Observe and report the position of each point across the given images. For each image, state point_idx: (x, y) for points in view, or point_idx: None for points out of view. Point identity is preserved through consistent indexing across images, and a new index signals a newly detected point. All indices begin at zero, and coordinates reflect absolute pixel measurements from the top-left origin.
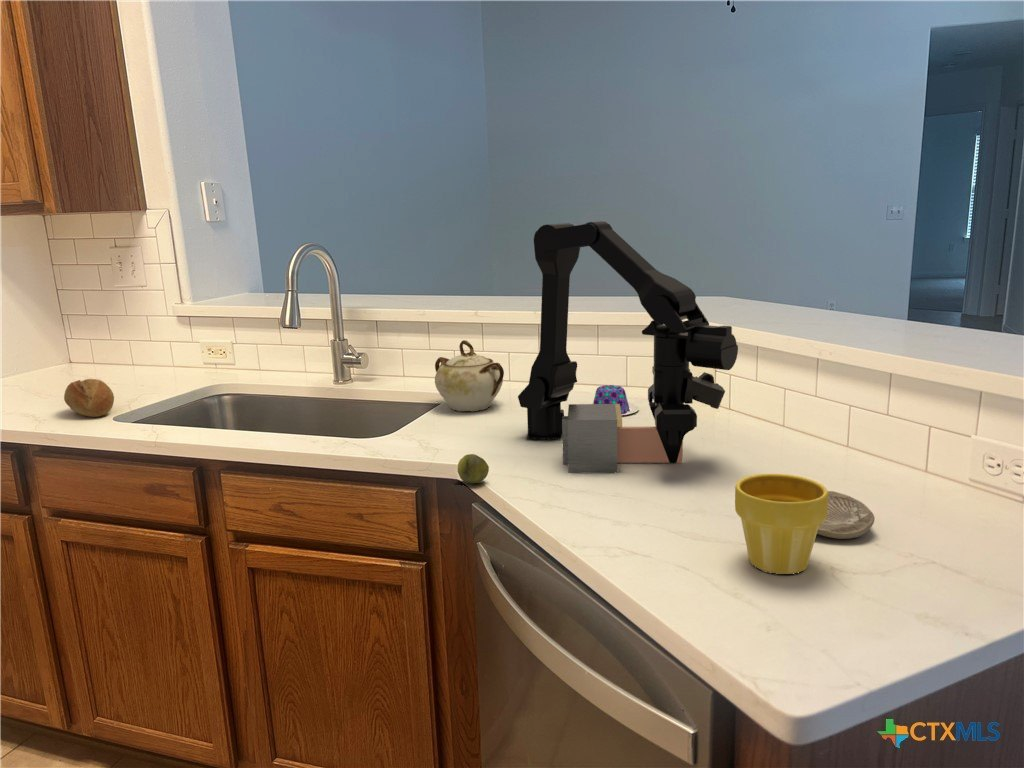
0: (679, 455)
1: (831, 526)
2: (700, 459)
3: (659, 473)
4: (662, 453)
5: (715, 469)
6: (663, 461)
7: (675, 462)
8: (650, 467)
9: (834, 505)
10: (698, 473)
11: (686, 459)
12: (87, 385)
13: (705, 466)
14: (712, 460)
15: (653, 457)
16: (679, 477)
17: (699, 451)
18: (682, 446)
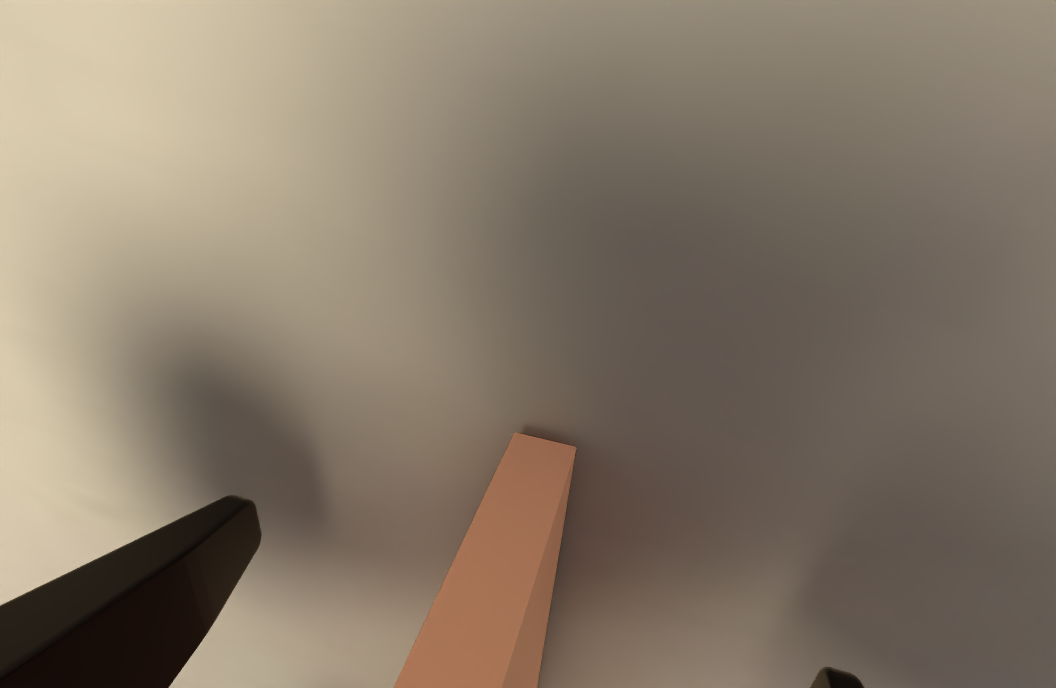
0: (555, 528)
1: None
2: (451, 211)
3: (808, 683)
4: (531, 668)
5: (901, 132)
6: (552, 588)
7: (854, 685)
8: (634, 672)
9: None
10: (969, 401)
11: (447, 356)
12: None
13: (725, 233)
14: (496, 61)
15: (534, 680)
16: (1007, 607)
17: (174, 134)
18: (529, 600)
